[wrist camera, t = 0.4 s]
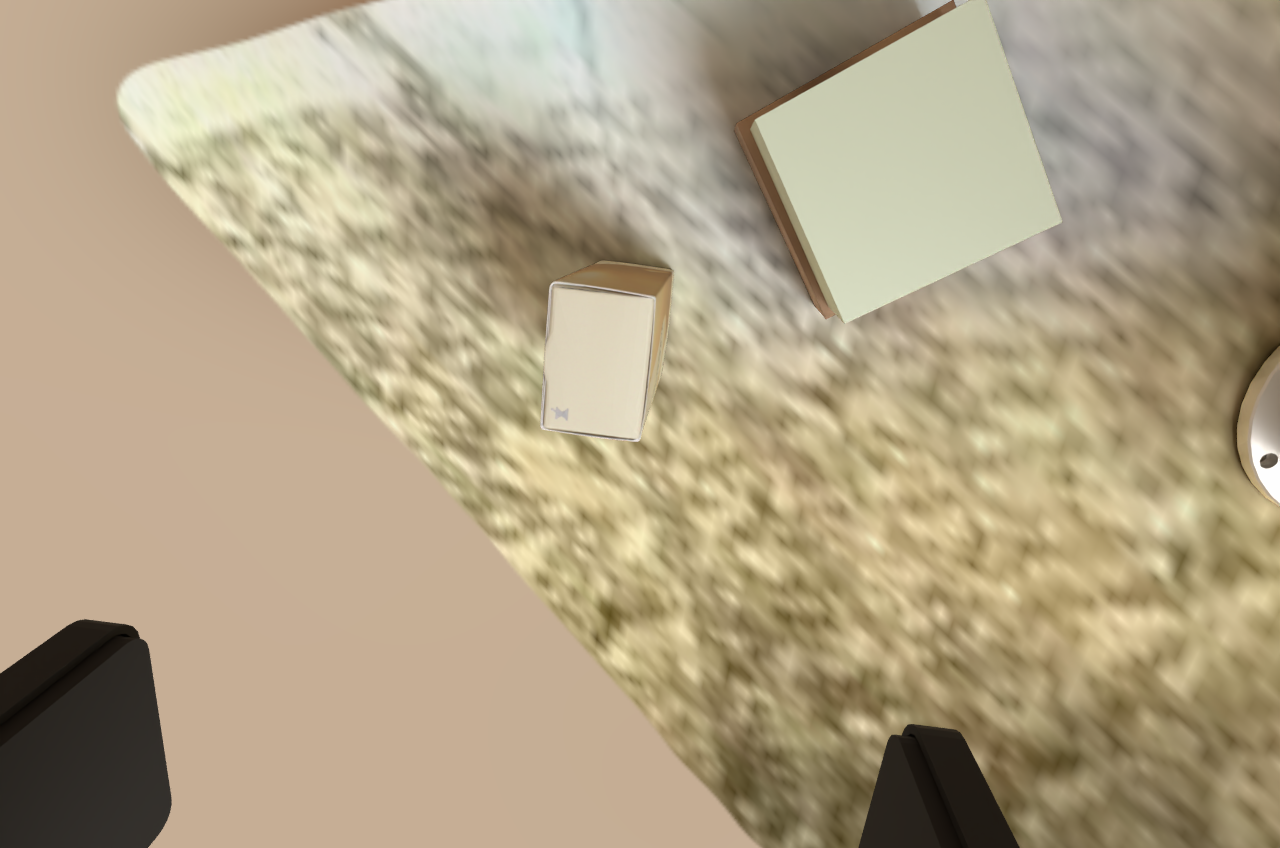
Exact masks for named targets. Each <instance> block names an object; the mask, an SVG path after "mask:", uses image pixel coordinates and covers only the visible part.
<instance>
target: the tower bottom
mask: <svg viewBox="0 0 1280 848" xmlns="http://www.w3.org/2000/svg"><path fill="white" fill-rule="evenodd" d="M955 8H956V5H955V3H954V0H952V1H950V2H948V3H947V4H945V5H943V6H941V7H940V8H938V9H936V10H934V11H933V12H931V13H929V14H927V15H926V16H924V17H922V18H920V19H919V20H917V21H915V22H913V23H912V24H910V25H908V26H906V27H905V28H903V29H901V30H899V31H898V32H896V33H894V34H892V35H890V36H889V37H887V38H885V39H883V40H882V41H880V42H878V43H876V44H875V45H873V46H871V47H869V48H868V49H866V50H864V51H862V52H861V53H859V54H857V55H855V56H854V57H852V58H850V59H848V60H847V61H845V62H843V63H841V64H840V65H838V66H836V67H834V68H833V69H831V70H829V71H827V72H826V73H824V74H822V75H820V76H819V77H817V78H815V79H813V80H812V81H810V82H808V83H806V84H804V85H803V86H801V87H799V88H797V89H796V90H794V91H792V92H790V93H789V94H787V95H785V96H783V97H782V98H780V99H778V100H776V101H775V102H773V103H771V104H769V105H768V106H766V107H764V108H762V109H761V110H759V111H757V112H755V113H754V114H752V115H750V116H748V117H747V118H745V119H743V120H741V121H740V122H738V123H736V126H735V129H734V132H735V134H736V136H737V138H738V140H739V142H740V145H741V147H742V149H743V151H744V153H745V156H746V158H747V160H748V162H749V164H750V166H751V169H752V171H753V173H754V175H755V177H756V179H757V182H758V184H759V186H760V188H761V190H762V193H763V195H764V197H765V199H766V201H767V203H768V206H769V208H770V210H771V212H772V214H773V216H774V219H775V221H776V223H777V225H778V227H779V230H780V232H781V234H782V236H783V238H784V240H785V243H786V245H787V247H788V249H789V251H790V253H791V256H792V258H793V260H794V262H795V264H796V267H797V269H798V271H799V273H800V275H801V277H802V280H803V282H804V284H805V286H806V288H807V290H808V293H809V295H810V297H811V299H812V301H813V303H814V306H815V307H816V308H817V309H818V310H819V312H820V313H821V314H822V315H823V316H824V317H825V319H827V318H830V317H832V316H834V315H836V314H835V313H834V312H833V311H832V310H831V309H830V308H829V307H828V305H827V302H826V300H825V298H824V295H823V293H822V291H821V289H820V286H819V284H818V282H817V280H816V277H815V275H814V273H813V271H812V268H811V266H810V264H809V262H808V259H807V257H806V255H805V253H804V250H803V248H802V246H801V243H800V241H799V239H798V237H797V234H796V232H795V230H794V228H793V225H792V223H791V221H790V219H789V216H788V214H787V212H786V210H785V207H784V205H783V203H782V201H781V198H780V196H779V194H778V192H777V189H776V187H775V185H774V182H773V180H772V178H771V176H770V173H769V171H768V169H767V167H766V164H765V162H764V160H763V158H762V155H761V153H760V151H759V149H758V146H757V144H756V142H755V140H754V137H753V135H752V133H751V130H750V128H751V126H752V124H753V122H754V120H755V119H757V118H759V117H760V116H762V115H764V114H766V113H768V112H769V111H771V110H773V109H775V108H777V107H778V106H780V105H782V104H784V103H786V102H788V101H789V100H791V99H793V98H795V97H797V96H798V95H800V94H802V93H804V92H806V91H807V90H809V89H811V88H813V87H815V86H816V85H818V84H820V83H822V82H824V81H825V80H827V79H829V78H831V77H833V76H834V75H836V74H838V73H840V72H842V71H843V70H845V69H847V68H849V67H851V66H852V65H854V64H856V63H858V62H860V61H861V60H863V59H865V58H867V57H869V56H870V55H872V54H874V53H876V52H878V51H879V50H881V49H883V48H885V47H887V46H888V45H890V44H892V43H894V42H896V41H897V40H899V39H901V38H903V37H905V36H906V35H908V34H910V33H912V32H914V31H915V30H917V29H919V28H921V27H923V26H924V25H926V24H928V23H930V22H932V21H933V20H935V19H937V18H939V17H941V16H942V15H944V14H946V13H948V12H950V11H952V10H953V9H955Z"/></svg>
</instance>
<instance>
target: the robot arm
mask: <svg viewBox="0 0 1280 848" xmlns="http://www.w3.org/2000/svg"><path fill="white" fill-rule="evenodd" d="M1237 448H1238V452H1239V456H1240V460H1241V464H1242V466H1243V468H1244V470H1245V472H1246V474H1247V476H1248V477H1249V479H1250V481H1251V483H1252V484H1253V485H1254V486H1255V487H1256V488H1257V489H1258V490H1259V491H1260V493H1261V494H1262V495H1263V496H1264V497H1266V498H1267V499H1268V500H1270V501H1271V502H1273V503H1274V504H1276V505H1277V506H1279V507H1280V346H1279V347H1278V348H1277V349H1276V350H1275V351H1274V352H1273V353H1272V354H1271V355H1270V357H1269V358H1268V359H1267V360H1266V361H1265V362H1264V364H1263V365H1262V367H1261V368H1260V370H1259V371H1258V373H1257V374H1256V376H1255V377H1254V379H1253V380H1252V382H1251V384H1250V386H1249V388H1248V391H1247V393H1246V395H1245V398H1244V400H1243V402H1242V405H1241V409H1240V414H1239V419H1238V424H1237ZM170 810H171V792H170V786H169V779H168V773H167V766H166V760H165V752H164V746H163V739H162V733H161V726H160V719H159V713H158V706H157V699H156V694H155V687H154V680H153V673H152V666H151V660H150V654H149V648H148V645H147V643H146V642H145V641H144V640H142V639H140V637H139V634H138V631H137V630H136V629H135V628H134V627H133V626H129V625H126V624H117V623H110V622H101V621H94V620H86V619H85V620H79V621H76V622H74V623H72V624H70V625H68V626H67V627H65V628H64V629H62V630H61V631H60V632H58V633H57V634H55V635H54V636H52V637H51V638H50V639H48V640H47V641H46V642H44V643H43V644H41V645H40V646H38V647H37V648H36V649H34V650H33V651H31V652H30V653H29V654H27V655H26V656H24V657H23V658H22V659H20V660H19V661H17V662H16V663H15V664H13V665H12V666H11V667H9V668H7V669H6V670H5V671H3V672H2V673H0V848H148V847H149V846H150V845H151V843H152V842H153V841H154V840H155V838H156V837H157V836H158V835H159V833H160V832H161V830H162V829H163V827H164V825H165V823H166V821H167V819H168V816H169V813H170ZM859 848H1020V847H1019V846H1018V844H1017V842H1016V840H1015V838H1014V836H1013V834H1012V832H1011V830H1010V828H1009V826H1008V824H1007V822H1006V820H1005V818H1004V816H1003V814H1002V812H1001V810H1000V808H999V806H998V804H997V802H996V800H995V798H994V796H993V794H992V792H991V790H990V788H989V786H988V784H987V782H986V780H985V778H984V776H983V774H982V772H981V770H980V768H979V766H978V764H977V762H976V761H975V759H974V757H973V755H972V753H971V751H970V749H969V747H968V745H967V743H966V741H965V739H964V738H963V736H962V735H961V733H960V732H958V731H957V730H954V729H946V728H938V727H930V726H922V725H914V724H910V725H907V726H906V728H905V729H904V731H903V734H902V736H901V735H891V736H890V738H889V740H888V742H887V746H886V749H885V753H884V757H883V760H882V764H881V768H880V771H879V775H878V778H877V782H876V786H875V789H874V793H873V797H872V800H871V804H870V808H869V811H868V815H867V819H866V822H865V826H864V830H863V833H862V837H861V841H860V844H859Z"/></svg>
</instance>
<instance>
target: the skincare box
mask: <svg viewBox="0 0 1280 848" xmlns="http://www.w3.org/2000/svg"><path fill="white" fill-rule="evenodd" d="M673 278H674V271H673V270H671V269H665V268H659V267H652V266H645V265H638V264H631V263H623V262H614V261H605V260H602V261H599V262H597V263H595V264H592V265H590V266H588V267H586V268H583V269H581V270H579V271H576V272H574V273H572V274H569V275H567V276H565V277H562V278H560V279H558V280H555V281H553V282H552V283H551V284H550V286H549V298H548V310H547V325H546V340H545V354H544V372H543V389H542V405H541V422H540V426H541V429H543V430H549V431H556V432H561V433H569V434H575V435H581V436H588V437H595V438H603V439H611V440H623V441H633V442H638V441H639V440H640V438H641V435H642V431H643V428H644V425H645V422H646V419H647V415H648V412H649V409H650V407H651V404H652V401H653V398H654V395H655V392H656V389H657V386H658V383H659V380H660V377H661V374H662V369H663V363H664V357H665V351H666V344H667V337H668V329H669V322H670V312H671V301H672V290H673Z"/></svg>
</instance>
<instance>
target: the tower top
mask: <svg viewBox="0 0 1280 848" xmlns="http://www.w3.org/2000/svg"><path fill="white" fill-rule="evenodd" d="M750 130H751V133H752V135H753V137H754V140H755V142H756V144H757V146H758V149H759V151H760V153H761V155H762V158H763V160H764V162H765V164H766V167H767V169H768V171H769V173H770V176H771V178H772V180H773V182H774V185H775V187H776V189H777V192H778V194H779V196H780V198H781V201H782V203H783V205H784V207H785V210H786V212H787V214H788V216H789V219H790V221H791V223H792V225H793V228H794V230H795V232H796V234H797V237H798V239H799V241H800V243H801V246H802V248H803V250H804V253H805V255H806V257H807V259H808V262H809V264H810V266H811V268H812V271H813V273H814V275H815V277H816V280H817V282H818V284H819V286H820V289H821V291H822V293H823V295H824V298H825V300H826V302H827V305H828V307H829V308H830V309H831V310H832V311H833V312H834V313H835V314H836V315H837V316H838V317H839V318H840V319H841V321H842V322H843V323H844V324H845V323H847V322H850V321H852V320H854V319H856V318H858V317H860V316H862V315H865V314H867V313H869V312H871V311H873V310H875V309H877V308H880V307H882V306H884V305H886V304H888V303H890V302H892V301H895V300H897V299H899V298H901V297H903V296H905V295H908V294H910V293H912V292H914V291H916V290H918V289H920V288H923V287H925V286H927V285H929V284H931V283H933V282H935V281H938V280H940V279H942V278H944V277H946V276H948V275H950V274H953V273H955V272H957V271H959V270H961V269H963V268H965V267H968V266H970V265H972V264H974V263H976V262H978V261H981V260H983V259H985V258H987V257H989V256H991V255H993V254H996V253H998V252H1000V251H1002V250H1004V249H1006V248H1008V247H1011V246H1013V245H1015V244H1017V243H1019V242H1021V241H1023V240H1026V239H1028V238H1030V237H1032V236H1034V235H1036V234H1038V233H1041V232H1043V231H1045V230H1047V229H1049V228H1051V227H1054V226H1056V225H1058V224H1060V223H1062V219H1061V216H1060V213H1059V210H1058V207H1057V205H1056V202H1055V199H1054V196H1053V193H1052V190H1051V187H1050V184H1049V181H1048V178H1047V176H1046V173H1045V170H1044V167H1043V164H1042V161H1041V158H1040V155H1039V152H1038V149H1037V146H1036V144H1035V141H1034V138H1033V135H1032V132H1031V129H1030V126H1029V123H1028V120H1027V117H1026V115H1025V112H1024V109H1023V106H1022V103H1021V100H1020V97H1019V94H1018V91H1017V88H1016V86H1015V83H1014V80H1013V77H1012V74H1011V71H1010V68H1009V65H1008V62H1007V59H1006V57H1005V54H1004V51H1003V48H1002V45H1001V42H1000V39H999V36H998V33H997V30H996V27H995V25H994V22H993V19H992V16H991V13H990V10H989V7H988V4H987V1H986V0H970V1H968V2H966V3H964V4H962V5H961V6H959V7H957V8H955V9H953V10H952V11H950V12H948V13H946V14H944V15H942V16H941V17H939V18H937V19H935V20H933V21H932V22H930V23H928V24H926V25H924V26H923V27H921V28H919V29H917V30H915V31H914V32H912V33H910V34H908V35H906V36H905V37H903V38H901V39H899V40H897V41H896V42H894V43H892V44H890V45H888V46H887V47H885V48H883V49H881V50H879V51H878V52H876V53H874V54H872V55H870V56H869V57H867V58H865V59H863V60H861V61H860V62H858V63H856V64H854V65H852V66H851V67H849V68H847V69H845V70H843V71H842V72H840V73H838V74H836V75H834V76H833V77H831V78H829V79H827V80H825V81H824V82H822V83H820V84H818V85H816V86H815V87H813V88H811V89H809V90H807V91H806V92H804V93H802V94H800V95H798V96H797V97H795V98H793V99H791V100H789V101H788V102H786V103H784V104H782V105H780V106H778V107H777V108H775V109H773V110H771V111H769V112H768V113H766V114H764V115H762V116H760V117H759V118H757V119H755V120H754V122H753V124H752V126H751V128H750Z"/></svg>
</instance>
